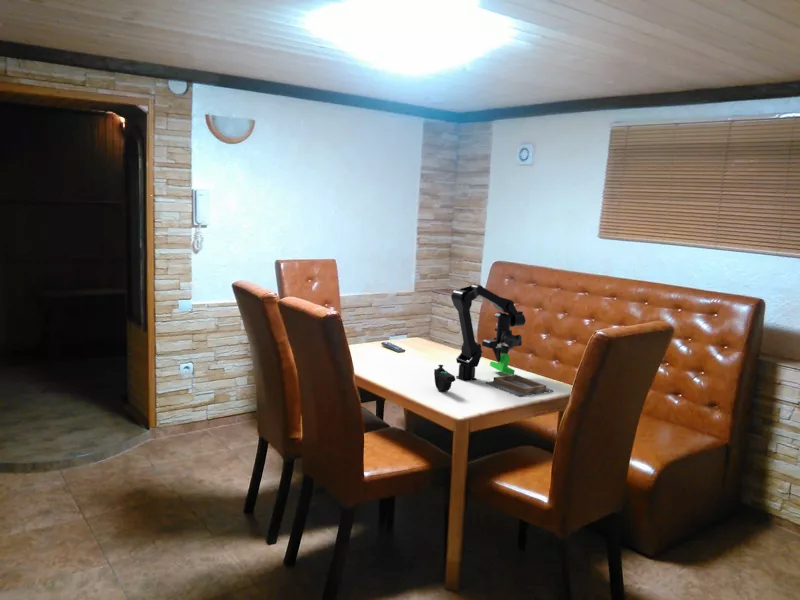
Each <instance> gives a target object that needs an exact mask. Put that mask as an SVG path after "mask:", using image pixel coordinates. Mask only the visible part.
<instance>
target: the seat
mask: <svg viewBox="0 0 800 600" xmlns="http://www.w3.org/2000/svg"><path fill="white" fill-rule="evenodd" d="M485 384H486V385H488V384H489V386H491V387H493V386H494V388H495V389H498V388H499V390H501V391H503V390H504V391H503V392H506V393H508V392H509V394H511V395H513V394H514V396H516V397H518V398H520V397H526V396H527V395H528V396H533V395H532V394H534V395H538V394H537V393H541V394H545V393H544V392H547V393H550V392H549V391H553V392H554V389H551V388H548V386H547V385H546V384H542V383H540V382H538V381H534V380H532V379H529V378H527V377H523V376H522V375H521V376H520V375H518V374H515V373H514V375H512V374H507V375H500V376H493V381H492V380H491V381H486V382H485Z"/></svg>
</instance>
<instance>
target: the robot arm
mask: <svg viewBox="0 0 800 600" xmlns="http://www.w3.org/2000/svg"><path fill="white" fill-rule="evenodd" d="M450 295H451V296H450V297H451V301H452V303H453V307H454V308H455V309H456V311H457V314H458V319H459V323H460V324H459V325H460V330H461V336H462V340H463V343H462V345H461V349H460V350H461V352H460V353H459V355H458V356H457V357H456V358H455V360H456V363H457V364H458V365H459V366H458V374H457V375H456V376H455V379H456V378H457V379H459V380H461V381H464V382H467V381H469V382H470V381H475V380H477V378H476V367H478V366H479V363H480V361H481V358H482V354H483V351H482V347H485V348H488V349H492V351H493V354H494V356H495V359H496V362H497V363H498V362H499V361H500V355H501V354H502V353H506V354H508V355H509V352H510V350H512V349H514V348H515V347H519V346H520V347H521V346H522V345H523V343H522V342H523V341H522V335H521V334H514V335H513V330H512V329H511V327H513V328H514V327H523V326H525V324H526V317H525V314H524V311H521V310H517V308H516V306H515V301H513V300H512V299H508V298H506V297H505V298H504V297H502V296H499V295H497V294H496V293H495V292H494V293H493V292H492V291H491V290H488V289H486V288H485V287H483V286H482V285H481V284H478V283H477V284H475V283H474V284H471V285H469V286H466V287H461V288H457V289H455V290H453V292H452V293H451V294H450ZM478 297H480V298H481V299H483V300H485V301H487V302H489V303H490V304H492V305H493V307H494V308H495V309H496V310H497V312H496V313H495V314H494V315H493V316H494V317H495V318H497V319H496V320H497V324H496V328H494V332H496V334H495V337H494V338H493V339H491V338H488V339H483V340H482V342H481V343H479V342H477V341H476V340H475V339H476V338H475V333H474V327H473V322H472V316H471V307H472V303H473V302H472V301H474V300H476V299H477V298H478Z"/></svg>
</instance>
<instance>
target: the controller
mask: <svg viewBox="0 0 800 600" xmlns="http://www.w3.org/2000/svg"><path fill="white" fill-rule="evenodd" d="M433 370H434V371H433V372H434V373H433V375H434V376H433V377H434V384H435V387H436V390H437V391H439V392H442V393H444V392H445V393H446V392H448V391H450V389H451V387H452V383H454V382H455V381H456V376H455V375H453V374H451V373H450V372H448V370H445V369H444V364H438V367H437V368H434V369H433Z"/></svg>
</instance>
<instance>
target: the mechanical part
mask: <svg viewBox="0 0 800 600" xmlns="http://www.w3.org/2000/svg"><path fill="white" fill-rule="evenodd" d="M510 359H511V358H510V355H509V353H508V354H506V353H502V354H501V355H500V361H499V362H497V361H492V360H490V362H489V366H490V367H491V368H493V369H496V370H497V371H499V372H501V373H505V374H507V375H515V369H513V368H511V367H509V363H510Z"/></svg>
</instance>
